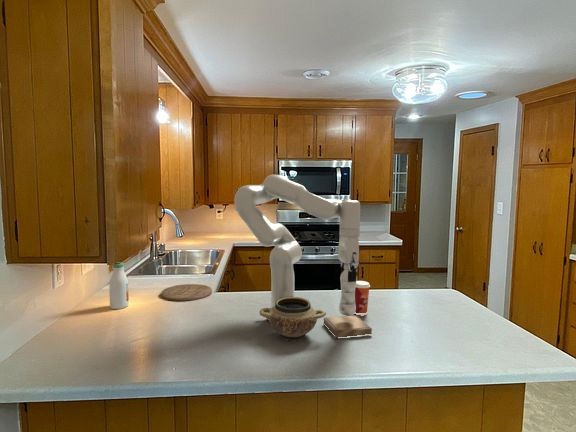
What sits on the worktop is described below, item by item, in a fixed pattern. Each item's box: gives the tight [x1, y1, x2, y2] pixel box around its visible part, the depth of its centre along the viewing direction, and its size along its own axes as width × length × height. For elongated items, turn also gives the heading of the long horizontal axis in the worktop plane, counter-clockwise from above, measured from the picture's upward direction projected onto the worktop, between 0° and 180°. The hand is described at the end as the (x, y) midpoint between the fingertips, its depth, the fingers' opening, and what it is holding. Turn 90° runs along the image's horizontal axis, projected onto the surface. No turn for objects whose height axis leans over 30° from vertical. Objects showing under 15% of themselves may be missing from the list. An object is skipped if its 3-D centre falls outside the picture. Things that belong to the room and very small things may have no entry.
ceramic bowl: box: [259, 296, 327, 341], centre depth 135 cm, size 24×18×15 cm
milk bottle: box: [108, 262, 130, 310], centre depth 164 cm, size 8×8×20 cm
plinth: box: [323, 314, 373, 338], centre depth 141 cm, size 14×14×3 cm
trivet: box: [160, 283, 213, 302], centre depth 186 cm, size 25×25×2 cm
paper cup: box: [355, 280, 371, 313], centre depth 159 cm, size 8×8×14 cm
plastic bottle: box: [338, 264, 358, 316], centre depth 140 cm, size 6×7×20 cm
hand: (348, 278), depth 139 cm, fingers closed on plastic bottle, 6 cm apart
